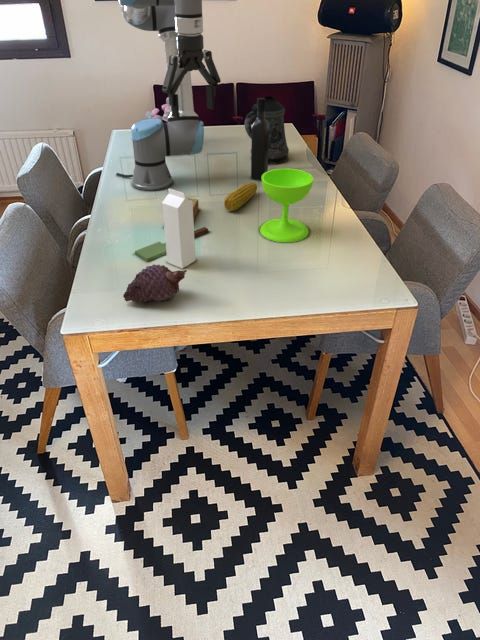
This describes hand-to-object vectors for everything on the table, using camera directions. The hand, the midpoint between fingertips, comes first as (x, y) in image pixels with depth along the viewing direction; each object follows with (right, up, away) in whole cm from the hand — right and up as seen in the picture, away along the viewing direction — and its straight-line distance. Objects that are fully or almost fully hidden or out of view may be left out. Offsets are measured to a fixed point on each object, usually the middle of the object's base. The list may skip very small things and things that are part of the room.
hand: (193, 112), depth 157 cm
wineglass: (+29, -34, +11) cm, 46 cm away
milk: (-3, -46, -5) cm, 47 cm away
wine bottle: (+22, -6, +49) cm, 54 cm away
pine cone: (-8, -57, -20) cm, 61 cm away
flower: (-18, +16, +79) cm, 83 cm away
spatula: (-6, -40, +4) cm, 40 cm away
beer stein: (+26, +6, +66) cm, 72 cm away
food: (+15, -21, +29) cm, 39 cm away
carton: (-6, -29, +18) cm, 35 cm away
